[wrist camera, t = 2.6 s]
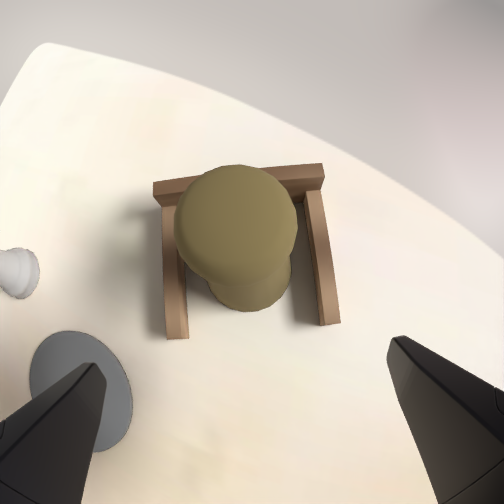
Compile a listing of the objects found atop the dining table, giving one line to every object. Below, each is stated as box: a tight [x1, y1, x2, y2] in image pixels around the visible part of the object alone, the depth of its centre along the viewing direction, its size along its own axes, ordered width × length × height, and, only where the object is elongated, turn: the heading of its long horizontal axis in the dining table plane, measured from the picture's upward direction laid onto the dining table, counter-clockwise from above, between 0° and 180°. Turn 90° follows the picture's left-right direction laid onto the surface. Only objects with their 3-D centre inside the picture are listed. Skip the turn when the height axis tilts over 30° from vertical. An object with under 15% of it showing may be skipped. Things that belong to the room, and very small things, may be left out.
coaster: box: [30, 331, 133, 453], centre depth 20 cm, size 10×10×1 cm
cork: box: [173, 165, 298, 312], centre depth 17 cm, size 6×6×11 cm
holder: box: [153, 163, 341, 340], centre depth 21 cm, size 10×11×4 cm
